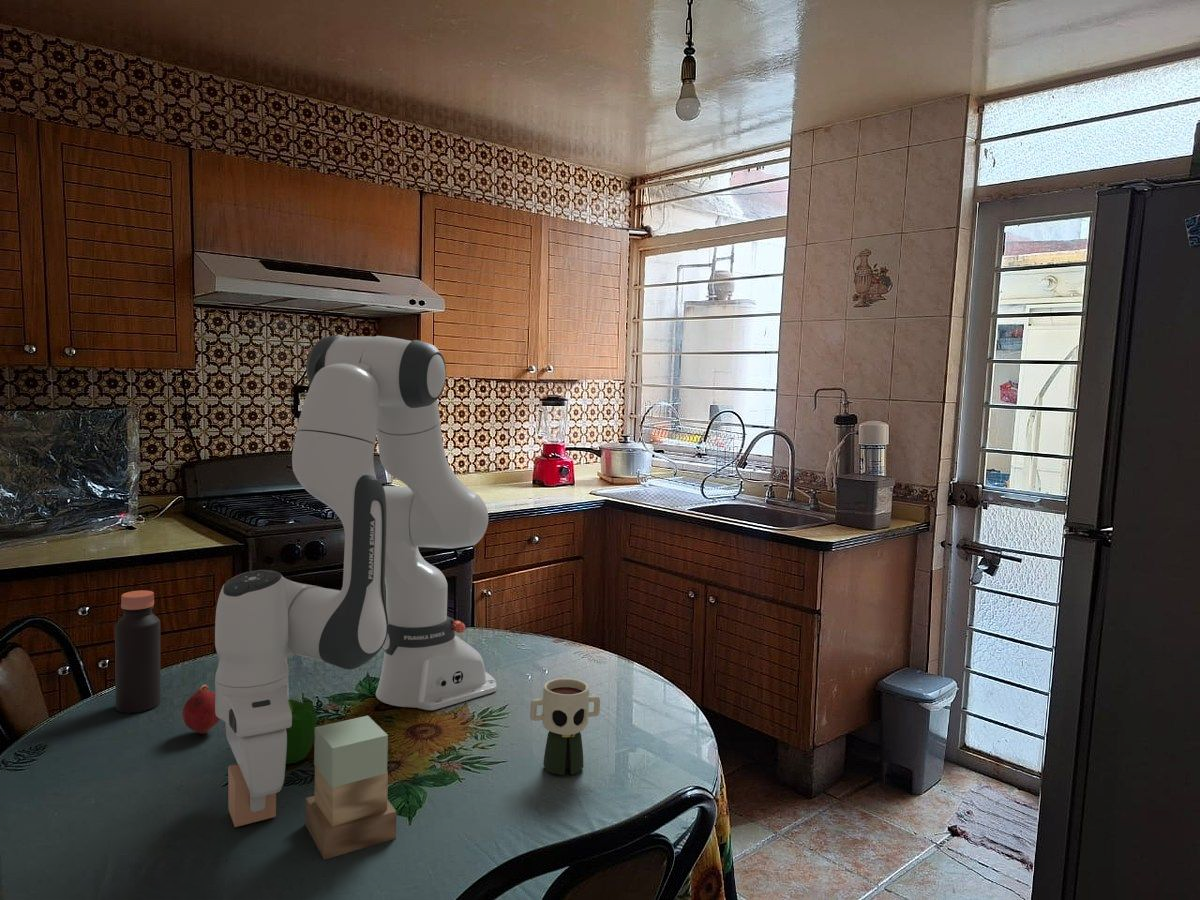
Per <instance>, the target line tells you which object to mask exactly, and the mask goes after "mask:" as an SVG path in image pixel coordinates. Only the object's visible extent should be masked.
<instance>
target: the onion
mask: <svg viewBox="0 0 1200 900" xmlns="http://www.w3.org/2000/svg"><path fill="white" fill-rule="evenodd" d="M182 718H183V723H185V726H186V727H187V728H189V729H190V730H192V731H194V732H196V733H198V734H201V735H204V734H206V733H208V732H210V731H209V730H211V729H212V728H213V727H215V725H217V724H218V722H219V721H220V720H221V719H220V718H218V717H217V716H216V714H215V692H213V691H211V690H209V686H208V685H207V684H202V685H201V687H200V688H198V690H197V691H196V692H195V693H194V694H192V695H191V696H190V697H189V699H188V700H187V701H186V702H185V704H184V706H183V709H182Z"/></svg>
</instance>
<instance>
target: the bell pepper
mask: <svg viewBox="0 0 1200 900" xmlns="http://www.w3.org/2000/svg"><path fill="white" fill-rule="evenodd" d="M289 704H290V708H291V713H292V726H291V727H290V728H286V732H287V752H286V765H289V764H296V763H298V762H301V761H303V760H305V758H306V757H307V756H308V754H309V753H310V752H311V750H312V748H313V744H314V741H315V727H318V726H317V721H318V719H317V712H316V709H315V706H314V704H313V702H312V701H305V702H302V701H299V700H295V699H292V698H290V699H289Z"/></svg>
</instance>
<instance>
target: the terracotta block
mask: <svg viewBox="0 0 1200 900" xmlns="http://www.w3.org/2000/svg"><path fill="white" fill-rule="evenodd" d="M227 770H228V773H227V774H228V778H227V779H228V781H227V782H228V783H227V784H228V796H227V797H228V800H227V801H228V803H227V804H228V809H227V810H228V812H229V815H230V817H231V821H232V824H233V826H234V828H237V827H241V826H245V825H249V824H252V823H256V822H260V821H264V820H268V819H272V818H275V817H277V793H274V794H270V795H266V799H265V808H264V809H263V810H260V811H256V812H252V811H251V810H250V807H249V794H250V792H249V789H248V787H247V785H246V782H245V780H244V778H243V775H242V773H241V770H240V768H239V766H238V763H236V764H231V765H228V767H227Z"/></svg>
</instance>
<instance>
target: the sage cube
mask: <svg viewBox="0 0 1200 900" xmlns="http://www.w3.org/2000/svg"><path fill="white" fill-rule="evenodd" d="M388 739H389V735H388V734H387V732H385V730H383V729H382V728H381V727H380V725H378V724H377V723H376V722H375V721H374V720H373V719H372V717H370V716H369V715H365V716H359V717H355V718H350V719H346V720H342V721H341V720H340V721H337V722H332V723H328V724H323V725H320V726H319V725H318V726H316V727H315V737H314V741H313V744H314V753H313V756H314V757H313V760H314V761H313V765H314V768H315V767H316V768H317V769H318V770H319V772H320V773H321V774H322V776H323V777H324V778H325V780H326V781H327V782H328V783H329V785H330V786H331V787H332V788H334V787H337V786H341V785H345V784H348V783H352V782H356V781H360V780H363V779H367V778H371V777H374V776H378V775H382V774H386V773H387V772H388V751H389V750H388V748H389V746H388V744H389V740H388Z"/></svg>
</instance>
